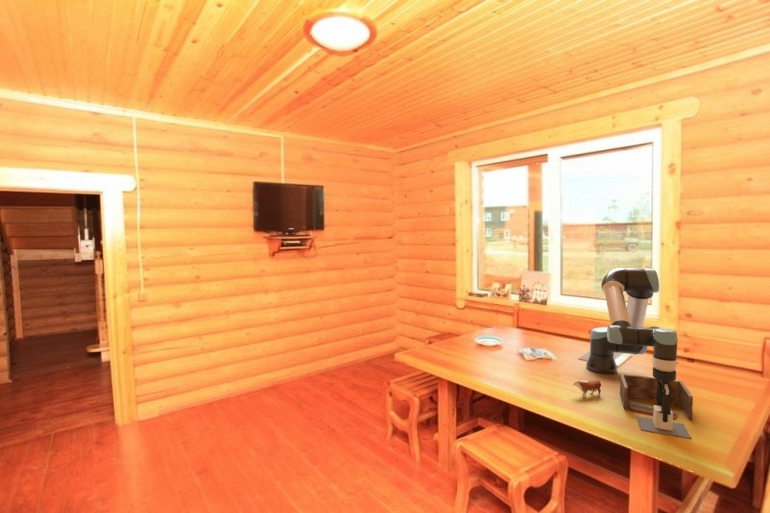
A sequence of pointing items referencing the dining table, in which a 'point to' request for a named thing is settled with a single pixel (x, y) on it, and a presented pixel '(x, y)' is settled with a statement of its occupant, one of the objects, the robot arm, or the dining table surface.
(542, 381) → the dining table surface
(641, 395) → the open box
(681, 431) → the grey mat
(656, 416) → the beige block
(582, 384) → the bull figurine
